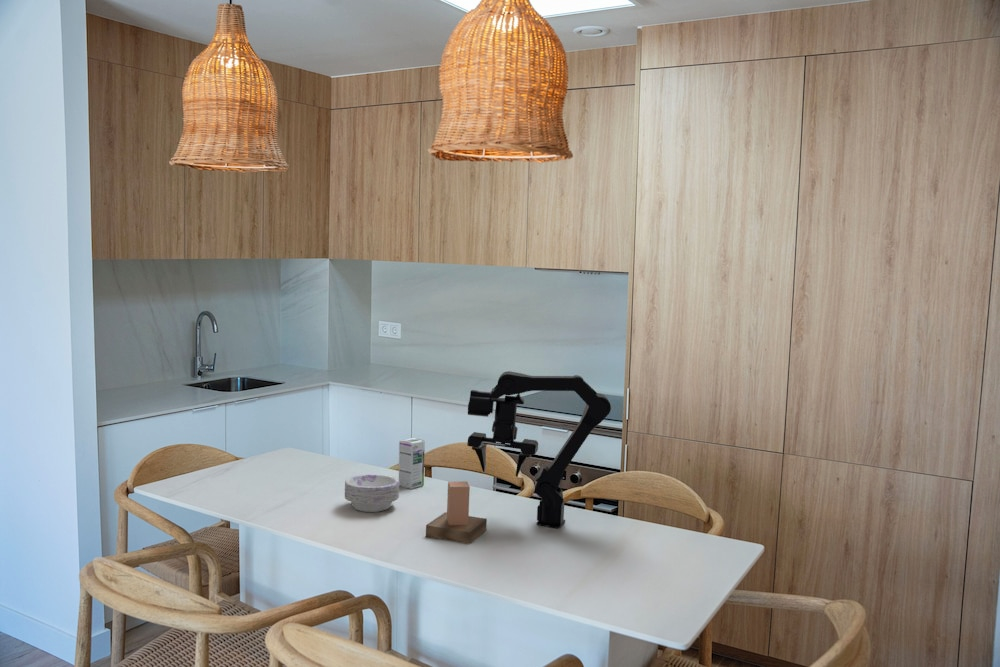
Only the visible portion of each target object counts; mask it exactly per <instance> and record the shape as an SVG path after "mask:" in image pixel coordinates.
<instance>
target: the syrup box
mask: <svg viewBox="0 0 1000 667" xmlns="http://www.w3.org/2000/svg"><path fill="white" fill-rule="evenodd" d="M398 443H399V444H398V450H399V451H398V480H399V487H402V488H405V489H410V490H413V489H416V488H419V487H423V486H424V485H425V447H426V446H425V440H423V439H419V438H414V437H411V438H407V439H402V440H399V441H398Z"/></svg>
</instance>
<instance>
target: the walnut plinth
mask: <svg viewBox="0 0 1000 667" xmlns="http://www.w3.org/2000/svg"><path fill="white" fill-rule="evenodd" d="M487 522H488V519H487V518H483V517H478V516H471V515H469V517H468V525H449V524H448V521H447V511H445V512H443V513H442V514H440V515H438V516H437V517H436V518H434V519H433V520H432V521H430V522H428V523H427V524H426V525H425V538H426V537H427V538H433V539H439V540H444V541H449V542H456V543H462V544H468V545H470V544H471V543H472V542H473V541H474V540H476V539H477V538H478V537H480V536H481V535H482V534H483V533H484V532H486V531H487Z"/></svg>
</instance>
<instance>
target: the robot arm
mask: <svg viewBox="0 0 1000 667" xmlns="http://www.w3.org/2000/svg"><path fill="white" fill-rule="evenodd" d="M535 391H536V392H538V391H540V392H541V391H542V392H545V391H547V392H548V391H549V392H550V391H551V392H564V391H565V392H575V393H576V394H577V396H579V398H580V399H582V401H583V402H584V403H585V404H586V405H585V407H584V410H583V411H582V415H581V417H580V420H579V422H578V423H577V425H576V426H575V428H574V429H573V430H572V432H571V434H570V435H569V436H568V438H567V439H566V441H565V442H564V444H563V445H562V447H561V448H560V450H559V451H558V453H557V454H556V456H555V457H554V459H553V460H552V461H551V462H550V463H549V464H548V465H546V464H545V463H542V465H541V467H540V469H539V471H538V472H537V473H535V474H534V475H535V479H534V481H535V482H534V489H535V493H536V495H537V496H538V497H539V498H540V500H539V503H538V504H539V505H538V506H537V508H536V509H537V510H536V512H537V513H536V521H537V522H536V525H537V526H544V527H549V528H557V529H559V528H561V527H562V526H563V524H565V522H566V519H564V518H565V517H564V516H565V500H564V492H563V489H562V488H561V487H560V483H561V481H562V478H563V476H564V473H565V470H566V469H567V467H568V466H569V465H570V463H571V462H572V460H573V459H574V457H575V456H576V454H577V453H578V452H579V451H580V449H581V447H582V445H583V444H584V443H585V441H586V440H587V438H588V437H589V435H590V434H591V432H592V431H593V430H594V429H595V428H596V427H597V426H598V425H600V424H601V423H602V422H603V421H604V420H605V419H606V418H607V417H608V416H609V414H610V413H611V410H612V405H611V403H610V401H609V399H608V397H607V396H606V395H605V394H602V393H597V391H595V389H594V388H593V387H592V386H591V385H589V384H588V383H587V382H586V381H585V380H584V378H583V377H582V376H581V375H578V374H575V375H530V374H526V373H521V372H515V371H512V370H511V371H504V372H503V373H501V374H500V375H499V377H498V380H497V384H496V385H495V386H494V388H491V391H479V390H476V389H471V390H470V393H469V394H470V395H469V400H468V403H467V415H468V416H476V417H484V418H485V417H489V415H491V414H493V413H494V420H493V423H492V426H491V432H492V433H493V434H492V437H487V434H486V433H484V432H478V431H477V432H475V431H474V432H472V433H471V434H470V435H469V436H468V439H467V442H466V443H467V445H466V446H468V447H471V450H473V451H474V452H475V454H476V456H477V458H478V460H479V464H480V468H481V469H482V472H483V473H485V472H486V468H487V467H486V466H487V465H486V464H487V459H486V457H487V456H486V455H487V454H486V453H487V452H486V451H487V445H489V446H496V447H502V448H503V447H504V448H511V449H517V450H520V453H519V454H518V459H517V463H516V464H517V465H516V469H515V477H516V478H517V477H518V476H519V474H520V472H521V469H522V467H523V464H524V462H525V461H526V459H527V458H531V456H536V454H537V452H538V450H539V442H538V441H537V440H535V439H528V438H527V439H526V438H524V439H523V440H522V441H516V439H517V434H518V429H519V428H518V427H517V426H516V420H517V409H518V408H517V407H518V405H525V400H524V399H523V397H522V396H521V395H520V394H524V393H527V392H535ZM513 395H515V396H513ZM503 396H504V397H503ZM494 402H495V408H494ZM494 409H495V412H494Z"/></svg>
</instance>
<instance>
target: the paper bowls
mask: <svg viewBox="0 0 1000 667" xmlns="http://www.w3.org/2000/svg"><path fill="white" fill-rule="evenodd" d="M399 498H400V486H399V478H396V477H394V476H390V475H385V474H361V475H355V476H354V475H353V476H351V477H349V478H347V479H345V482H344V499H345V500H346V501H348V502H350V503H351V505H352V507H353V508H354V509H355V510H358V511H360V512H366V513H377V512H378V513H379V512H383V511H386V510H387V509H389V508H390V507H391V505H392V504H393V503H394V502H395V501H397V500H398V499H399Z"/></svg>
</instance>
